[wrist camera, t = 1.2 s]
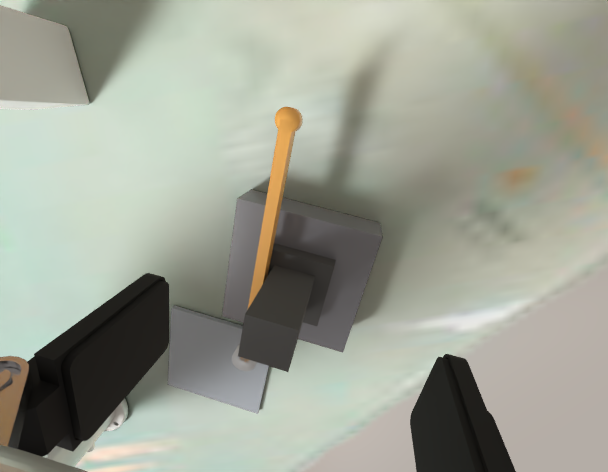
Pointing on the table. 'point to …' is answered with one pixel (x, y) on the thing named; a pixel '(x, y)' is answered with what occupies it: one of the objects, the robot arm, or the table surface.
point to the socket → (314, 239)
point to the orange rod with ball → (272, 208)
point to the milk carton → (37, 64)
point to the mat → (211, 360)
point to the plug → (285, 305)
